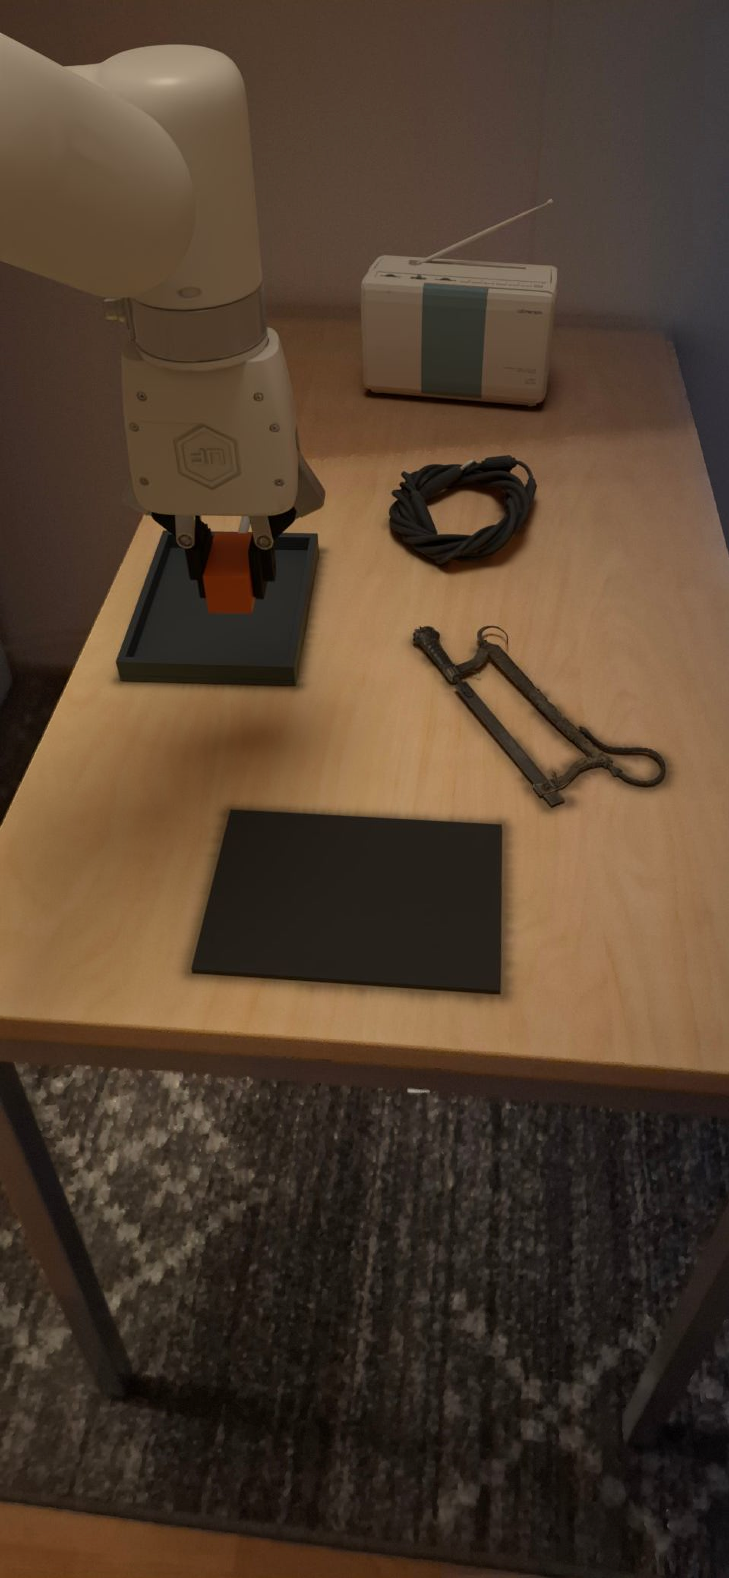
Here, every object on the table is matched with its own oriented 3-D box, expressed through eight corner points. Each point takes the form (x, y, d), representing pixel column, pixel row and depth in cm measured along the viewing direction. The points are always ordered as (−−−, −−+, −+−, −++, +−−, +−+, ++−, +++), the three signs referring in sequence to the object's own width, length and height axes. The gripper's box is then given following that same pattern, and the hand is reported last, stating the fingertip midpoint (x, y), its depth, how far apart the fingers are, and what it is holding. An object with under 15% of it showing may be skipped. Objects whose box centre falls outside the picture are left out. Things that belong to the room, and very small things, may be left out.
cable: (512, 584, 96) (516, 543, 93) (365, 562, 99) (364, 522, 95) (543, 486, 107) (547, 447, 104) (410, 470, 110) (411, 431, 107)
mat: (191, 972, 68) (190, 969, 68) (230, 812, 77) (230, 808, 77) (500, 993, 66) (500, 990, 66) (501, 827, 76) (501, 824, 75)
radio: (361, 399, 121) (355, 212, 106) (376, 367, 126) (373, 184, 111) (542, 415, 117) (562, 223, 102) (550, 381, 122) (570, 195, 108)
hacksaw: (406, 638, 91) (406, 624, 90) (508, 604, 94) (509, 590, 93) (561, 824, 76) (563, 810, 75) (676, 776, 79) (680, 762, 78)
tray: (295, 686, 87) (293, 666, 85) (120, 680, 88) (115, 661, 86) (319, 551, 100) (317, 533, 98) (166, 548, 101) (162, 530, 99)
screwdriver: (252, 614, 70) (247, 577, 68) (208, 613, 70) (202, 576, 68) (274, 507, 79) (271, 472, 77) (235, 507, 80) (231, 471, 77)
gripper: (38, 346, 56) (106, 618, 70) (339, 347, 56) (349, 623, 69) (72, 290, 62) (129, 554, 75) (348, 290, 61) (356, 557, 74)
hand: (234, 585), depth 72 cm, fingers closed on screwdriver, 3 cm apart
